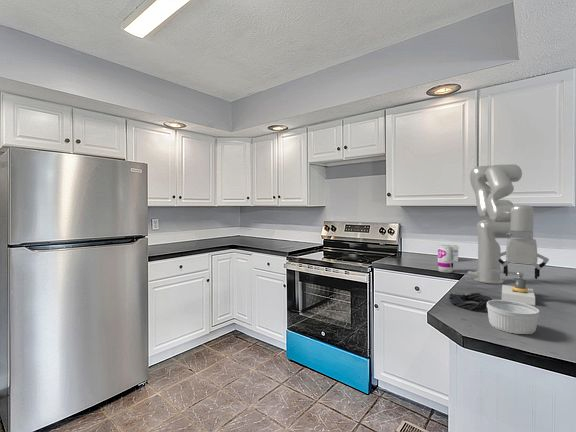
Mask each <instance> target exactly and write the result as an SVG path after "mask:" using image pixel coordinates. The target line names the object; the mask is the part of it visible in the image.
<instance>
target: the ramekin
mask: <svg viewBox="0 0 576 432" xmlns="http://www.w3.org/2000/svg"><path fill="white" fill-rule="evenodd" d="M487 316H488V321H489V324H490V325H491V326H492V327H493V328H494V327H495V328H494V329H496V330H498V329H499V330H498V331H500V330H502V331H501V332H503V331H505V332H504V333H507V332H509V333H508V334H511V333H514V334H513V335H517V334H530V335H532V334H534V333H535V332H536V330H537V327H538V326H537V325H538V321H539V317H540V316H541V315H540V310H539V309H538V308H537V307H535V306H534V305H529V304H524V303H519V302H514V301H507V300H502V299H492V300H491V301H488V302H487Z"/></svg>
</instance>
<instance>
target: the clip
mask: <svg viewBox="0 0 576 432" xmlns="http://www.w3.org/2000/svg"><path fill="white" fill-rule="evenodd" d="M488 272H491V273H500V274H504V269H500V270H499V269H495V268H489V270H488ZM508 275H513V276H517V275H518V276H523V277H524V276H525V275H524V272H523V271H513V270H508Z"/></svg>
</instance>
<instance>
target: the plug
mask: <svg viewBox="0 0 576 432" xmlns="http://www.w3.org/2000/svg"><path fill="white" fill-rule="evenodd" d="M513 281H514V282H513V285H511V286H512V290H514V292H520V293H526V292H528V288H529V287H527V280H526V279H525V278H523V279H521V278H517V277H515V278H514V280H513Z"/></svg>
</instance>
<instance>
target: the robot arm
mask: <svg viewBox="0 0 576 432" xmlns="http://www.w3.org/2000/svg"><path fill="white" fill-rule="evenodd" d="M522 177H523V171H522V168H521V166H519V165H517V164H494V165H493V164H492V165H479V166H475V167H473V168H472V169H471V170H470V173H469V182H470V187H471V188H472V190H473V192H474V194H475V201H476V202H475V203H476V209H477V214H478V216H479V217H480V218H485V219H481V220H479V221H478V222H477V223H476V234H477V243H478V245H477V246H478V247H477V270H475V271H471V270H468V271H467V275H468V276H474V277H473V280H474V281H476V282H478V283H479V282H480V283H484V284H489V285H490V284H493V285H500V284H501V285H503V284H504V281H505V280H503V279H502V278H501V273H491V272H488V270H489V268H495V269H499V270H501V265H502V267H503V270H504V274H505V276H506V277H508V275H509V274H508V271H509V270H508V269H509V268H508V267H509V266H508V265H509V264H510V263H512V264H524V265H533V266H534V280H538V278H540V276H541V275H540V271H541V269H542V268H543V267H545V266H546V264H548V263H549V261H550V258H548V257H546V256H544V255H542V254H540V253H538V244H537V240H536V238H534V207H533V206H532V205H524V204H523V205H518V204H517V205H514V203H513V202H512V201H511V200H509V199H504V198H506V197H508V196H510V195H511V194H512V193H513V192H514V190H515V188H514V187H515V186H514V185H513V183H516V182H519V181H520V180H521V179H522ZM487 183H488V184H487ZM497 239H507V241H506V247H505V248H506V249H505V251H504V252H503V251H502V252H501V250H502V249H501V245H500V244H499V243H498V241H497ZM504 256H505V261H504V260H503V259H502V257H504ZM538 258H539V259H541V260H542V262H540V263H539V264H538Z"/></svg>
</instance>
